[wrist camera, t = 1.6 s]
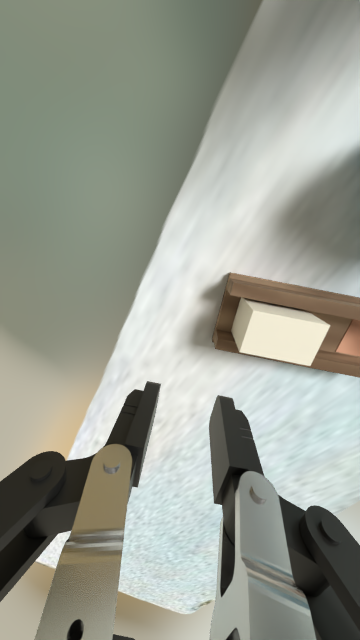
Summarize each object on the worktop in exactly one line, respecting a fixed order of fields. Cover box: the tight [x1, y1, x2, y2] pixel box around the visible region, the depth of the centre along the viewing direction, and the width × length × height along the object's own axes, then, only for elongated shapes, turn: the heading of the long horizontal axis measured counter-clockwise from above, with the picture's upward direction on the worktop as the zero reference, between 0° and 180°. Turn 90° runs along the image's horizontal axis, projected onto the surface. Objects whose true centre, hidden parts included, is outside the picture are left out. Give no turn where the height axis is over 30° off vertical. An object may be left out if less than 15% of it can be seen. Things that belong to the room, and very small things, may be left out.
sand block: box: [231, 297, 330, 366], centre depth 24 cm, size 5×8×6 cm, turn 80°
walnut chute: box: [212, 272, 360, 377], centre depth 26 cm, size 10×22×4 cm, turn 80°
